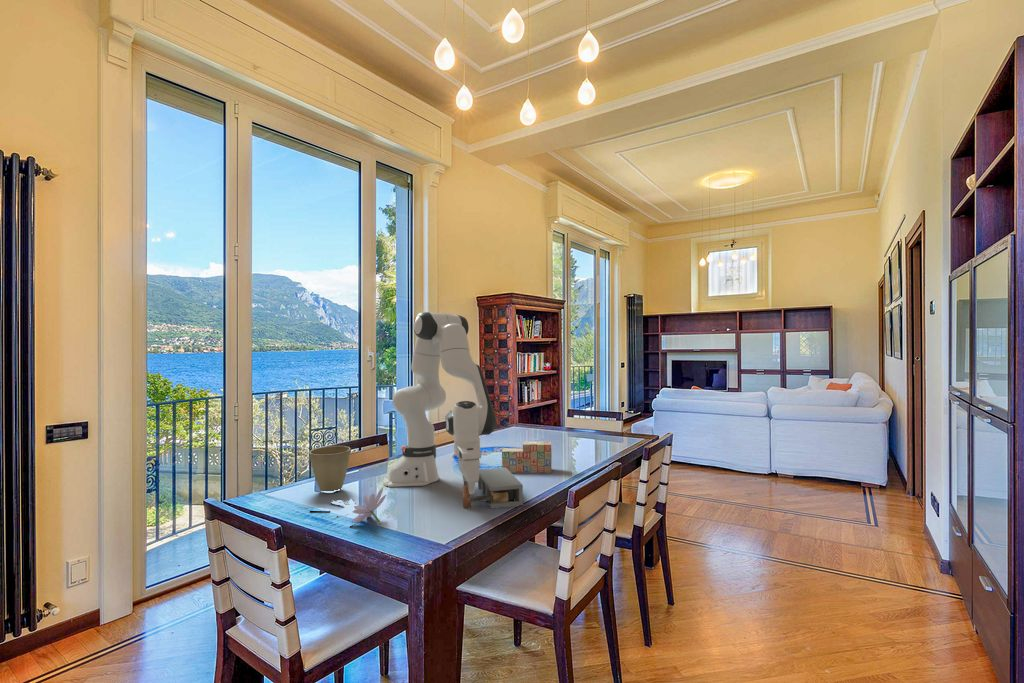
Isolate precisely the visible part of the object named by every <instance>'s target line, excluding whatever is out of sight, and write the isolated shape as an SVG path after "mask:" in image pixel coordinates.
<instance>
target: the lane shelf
mask: <svg viewBox="0 0 1024 683" xmlns="http://www.w3.org/2000/svg"><path fill="white" fill-rule="evenodd" d="M523 488H524V486H523V483H521V481H520V480H519V479H518V478H517V477H515V475H514V474H513V473H511V472H510V471H509V470H508V469H507V468H502V467H499V468H498V467H497V468H486V469H485V468H484V469H480V470H479V481H478V482H477V489H478V490H481V496H487V495H491V491H499V490H507V492H508V499H511V500H509V501H508V502H500V503H490V504H489V505H490V506H489V507H490V509H491V508H496V509H500V508H499V507H505V508H512V507H511V506H515V507H519V506H518V505H523V506H524V498H523V497H524V494H523V493H524V492H523ZM514 499H515V500H514ZM486 501H491V500H485V502H486Z"/></svg>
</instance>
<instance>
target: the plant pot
mask: <svg viewBox="0 0 1024 683" xmlns="http://www.w3.org/2000/svg"><path fill="white" fill-rule="evenodd" d="M350 452H351V447H350V446H346V445H330V446H329V445H328V446H322V447H318V448H314V449H311V450H309V459H310V464H311V468H312V472H313V475H314V478H315V480H316V484H317V486H318V488H319V491H320V490H322V491H334V490H338V489H341V488H342V489H343V485H344V482H345V479H346V476H347V471H348V468H349V462H350V455H351V453H350ZM342 489H341V490H342Z"/></svg>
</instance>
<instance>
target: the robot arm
mask: <svg viewBox="0 0 1024 683" xmlns="http://www.w3.org/2000/svg"><path fill="white" fill-rule="evenodd" d="M469 328H470V326H469V322H468V320H467V318H465V317H464V316H462V315H459V314H453V313H452V314H451V313H447V312H429V311H426V312H425V311H424V312H419V313H418V314H417V315H416V317H414V321H413V332H414V334H415V336H416V339H415V343H414V348H413V354H412V361H411V366H410V369H411V372H412V373H413V374H414V375H415V376H416V380H417V384H416V385H411V386H405V387H402V388H401V389H398V390H396V391H395V393H394V395H393V397H392V404H393V408H394V409H395V411H396V412H398V413H399V414H400V415H401V417H402V418H403V420H404V423H405V426H406V427H405V428H406V437H407V440H406V441H407V443H406V444H407V445H402V446H401V448H400V449H401V450H400V451H401V452H402V456H400V457H399V458H398V459H397V460H396V461H394V462H393V463H392V464H391V465H390V467H389V471H388V475H387V476H385V477H384V478H383V483H384V484H383V485H384V486H386V487H387V486H388V488H392V487H393V488H394V487H395V488H396V487H420V486H421V487H422V486H423V487H424V486H427V485H429V484H431V483H435V482H437V481H439V480H440V476H439V472H438V467H437V462H436V460H437V458H436V457H437V446H436V442H435V441H436V440H435V426H434V424H433V423H432V422H430V421H429V420H428V418H427V414H426V412H427V411H433V410H435V409H437V408H438V409H439V408H440V407H442V406H443V405H444V404H445V402H446V398H447V394H446V390H445V389H444V387H443V386H442V385H441V382H440V377H439V371H440V364H441V367H442V369H443V370H444V371H445V372H446V374H448V375H451V376H452V377H454V378H457V379H462V380H463V381H465V382H468V383H470V384H471V385H472V387H473V390H474V391H475V395H476V399H477V403H478V405H477V403H476V402H473V401H470V400H461V401H458V402H456V403H455V404H454V406H453V407H454V408H453V409H451V410H449V412H447V413H446V415H445V431H446V433H448V434H449V435H451V436H453V437H454V440H453V443H454V444H453V448H454V456H455V457H457V458H458V459H457V460H458V470H459V472H460V474H462V476H461V477H462V481H463V486H468V492H469V494H470V495H473V494H475V487H476V483H477V484H478V481H479V470H481V468H480V466H481V465H480V463H481V462H480V460H481V459H482V453H481V451H482V450H481V439H480V436H481V435H482V436H489V435H491V434H492V433H493V432H494V431H495V430H496V429H497V426H498V420H497V419H498V418H497V415H496V413H495V410H494V407H493V404H492V400H491V398H490V394H489V391H488V387H487V383H486V380H485V377H484V373H483V371H482V368H481V366H480V364H479V365H478V364H477V363H476V362H475V361H474V360H473V359H472V356H471V351H470V344H469V340H468V333H469V330H470V329H469Z"/></svg>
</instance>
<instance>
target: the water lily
mask: <svg viewBox="0 0 1024 683" xmlns="http://www.w3.org/2000/svg"><path fill="white" fill-rule="evenodd" d="M383 489H384V487H382V488H380V489H379V491H378V492H377V494H376V493H372V494H371V495H370V496H369V495H368V494H365V496H364V497H363V503H364V505H360V504H359V505H358V504H357V506H354V508H355V510H354V511H352V512H353V513H352V514H356V517H354V518H352V519H351V521H353V522H352V523H351V524H353V523H357V524H359V523H361V522H362V521H364V520H365V519H366V518H371V516H373V518H374V519H375V520H376V521H377V523H378V522H381V520H380V519H379V518H378V517H377V515H376V513H374V512H375V510H376V509H378V508H379V507H380V506H381V505H382V503H383V502H384V500H385V499H386V497H387V494H384V495H383V496H382V493H383V491H384V490H383ZM381 496H382V497H381ZM357 514H358V515H357ZM358 522H359V523H358Z"/></svg>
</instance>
